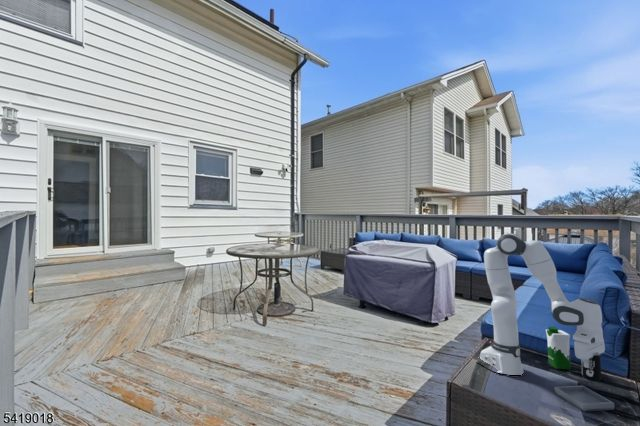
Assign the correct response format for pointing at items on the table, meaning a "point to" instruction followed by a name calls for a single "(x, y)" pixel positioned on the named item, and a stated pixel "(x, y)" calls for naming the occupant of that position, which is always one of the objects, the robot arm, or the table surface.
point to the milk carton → (558, 348)
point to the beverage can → (592, 369)
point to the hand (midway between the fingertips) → (591, 365)
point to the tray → (584, 398)
